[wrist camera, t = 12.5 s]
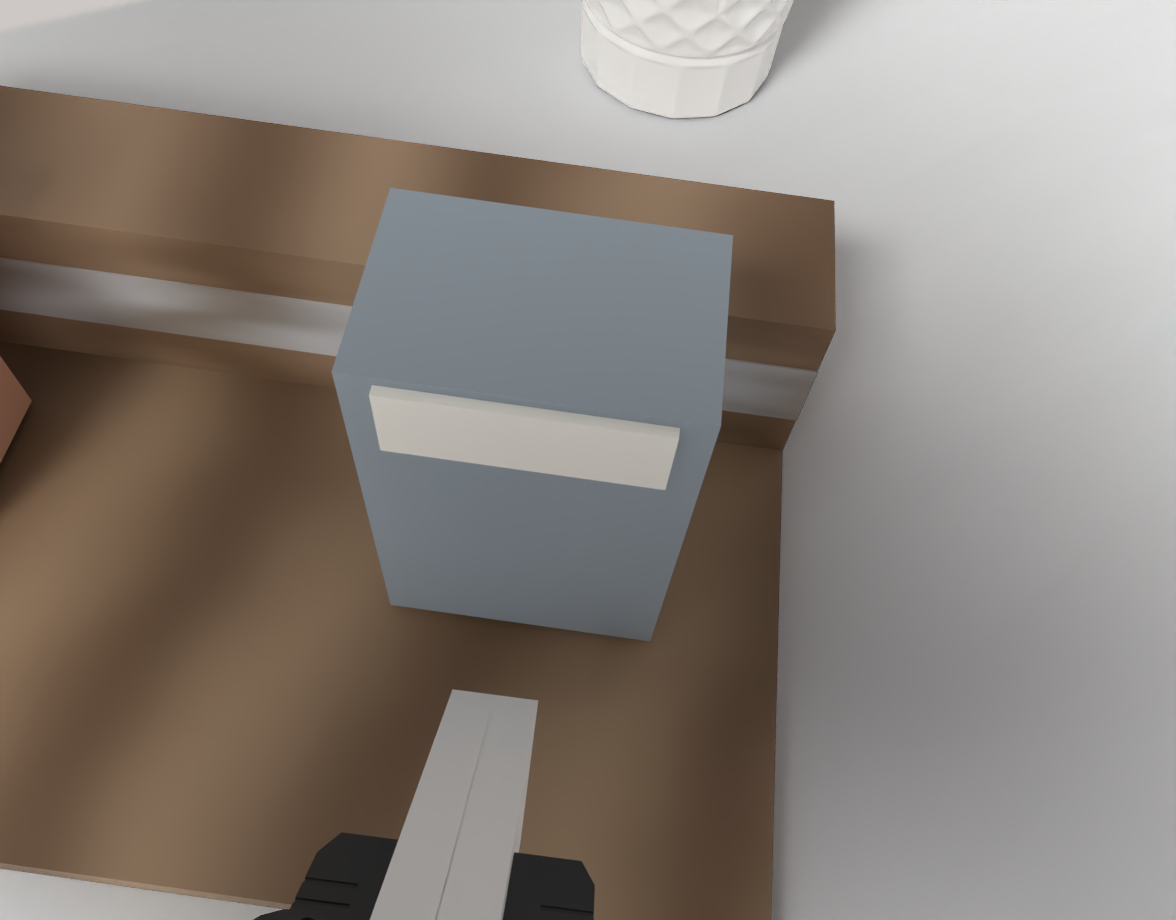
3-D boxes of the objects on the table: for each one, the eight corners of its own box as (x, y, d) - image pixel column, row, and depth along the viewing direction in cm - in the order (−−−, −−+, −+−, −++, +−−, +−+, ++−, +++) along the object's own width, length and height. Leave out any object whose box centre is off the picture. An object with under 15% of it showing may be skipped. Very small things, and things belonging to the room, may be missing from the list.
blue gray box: (388, 613, 23) (328, 382, 15) (426, 457, 25) (390, 187, 17) (649, 649, 23) (720, 436, 15) (664, 490, 25) (732, 235, 17)
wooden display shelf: (-578, 785, 21) (-929, 693, 16) (-173, 220, 29) (-315, 42, 24) (758, 976, 21) (840, 945, 16) (777, 353, 29) (833, 201, 24)
